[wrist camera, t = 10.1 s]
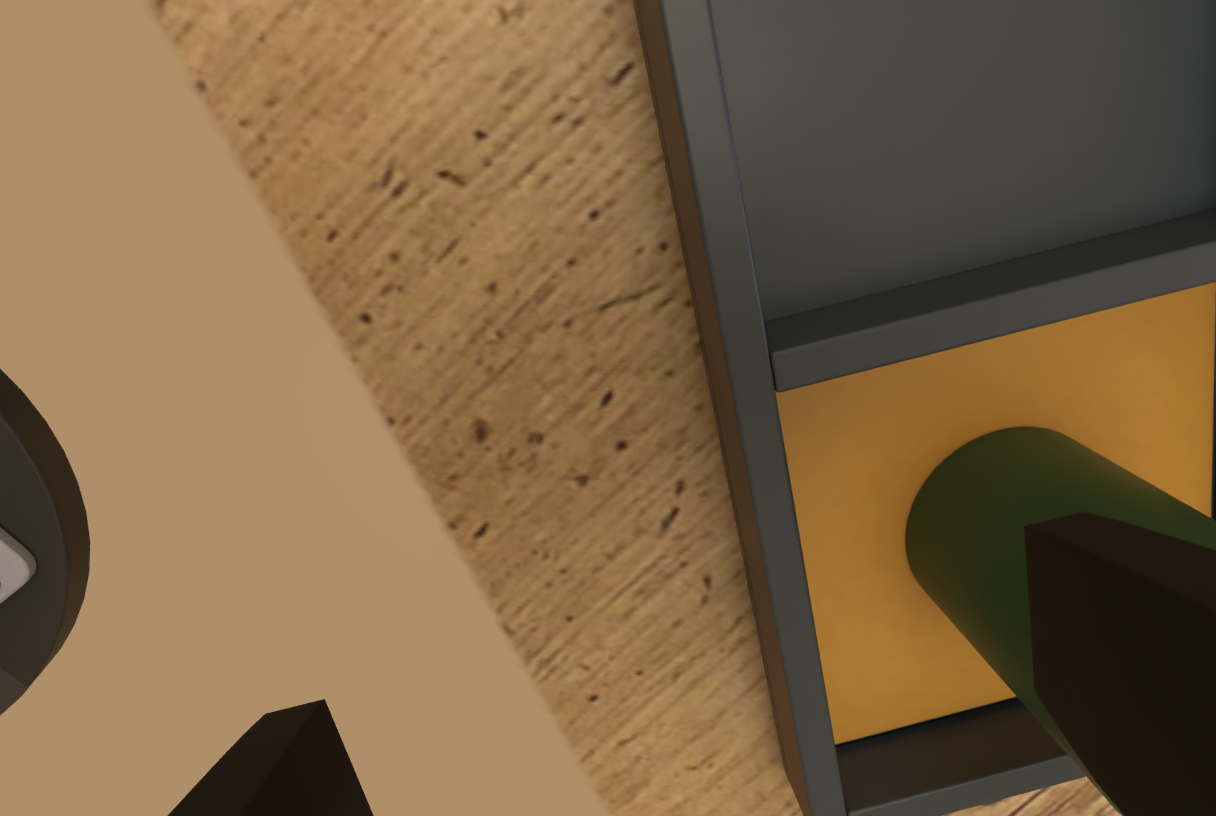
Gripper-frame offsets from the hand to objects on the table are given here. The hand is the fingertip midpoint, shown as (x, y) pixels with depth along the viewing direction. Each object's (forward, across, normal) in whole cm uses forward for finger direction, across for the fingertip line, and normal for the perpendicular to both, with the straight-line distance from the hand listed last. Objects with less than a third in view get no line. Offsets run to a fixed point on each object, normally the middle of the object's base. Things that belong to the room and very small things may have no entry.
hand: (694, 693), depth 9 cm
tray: (+10, -8, 0) cm, 12 cm away
